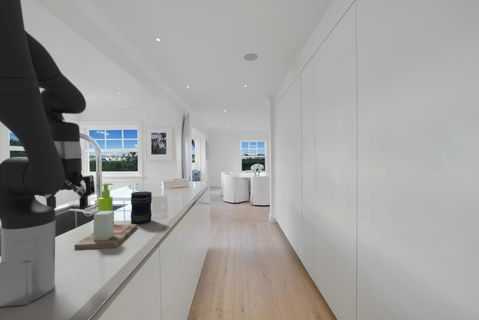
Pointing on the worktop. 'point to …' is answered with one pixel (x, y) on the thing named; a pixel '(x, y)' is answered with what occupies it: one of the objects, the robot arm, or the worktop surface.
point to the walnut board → (109, 243)
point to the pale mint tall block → (103, 225)
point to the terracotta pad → (120, 229)
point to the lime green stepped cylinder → (105, 200)
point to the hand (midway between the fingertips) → (68, 208)
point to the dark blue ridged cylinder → (141, 207)
